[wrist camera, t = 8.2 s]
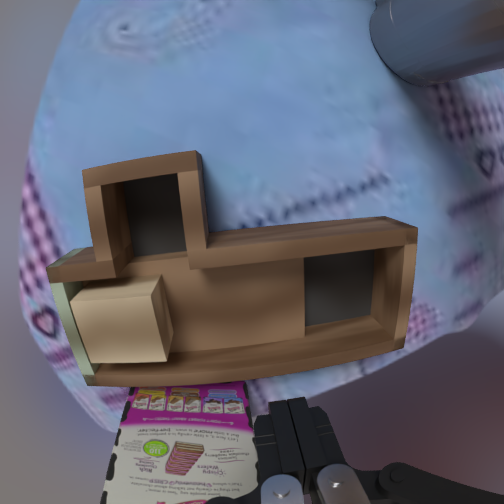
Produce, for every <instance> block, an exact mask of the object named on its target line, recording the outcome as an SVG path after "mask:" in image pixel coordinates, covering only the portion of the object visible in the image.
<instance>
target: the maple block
mask: <svg viewBox="0 0 504 504" xmlns="http://www.w3.org/2000/svg"><path fill="white" fill-rule="evenodd" d="M70 304H71V307H72V311H73V314H74V317H75V320H76V323H77V326H78V329H79V332H80V335H81V337H82V340H83V343H84V346H85V348H86V351H87V353H88V356H89V359H90V361H91V363H140V362H164V361H167V358H168V354H169V350H170V345H171V341H172V337H173V333H174V332H173V327H172V323H171V318H170V314H169V309H168V304H167V300H166V295H165V290H164V284H163V279H162V274H155V275H145V276H136V277H126V278H115V279H105V280H95V281H90V282H89V283H88V284H87V285H86V286H85V287H84V288H83V289H82V290H81V291H80V292H79V293H78V294H77V295H76V296H75V297H74V298H73V299H72V300H71V301H70Z"/></svg>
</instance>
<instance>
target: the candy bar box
mask: <svg viewBox="0 0 504 504" xmlns="http://www.w3.org/2000/svg"><path fill="white" fill-rule="evenodd" d="M259 482H260V471H259V464H258V457H257V450H256V442H255V436H254V431H253V425H252V418H251V412H250V406H249V401H248V392H247V386H246V382H245V381H232V382H222V383H211V384H198V385H182V386H157V387H130V391H129V395H128V397H127V401H126V404H125V407H124V411H123V414H122V418H121V422H120V425H119V428H118V433H117V437H116V441H115V444H114V447H113V451H112V455H111V459H110V463H109V467H108V471H107V475H106V480H105V484H104V489H103V494H102V497H101V502H100V504H204V503H205V502H206V501H208V500H209V499H211V498H214V497H219V496H226V497H230V498H233V499H235V498H237V497H240V496H243V495H246V494H248V493H250V492H251V491H253V490H254V489H255V488H256V487H257V486H258V484H259Z"/></svg>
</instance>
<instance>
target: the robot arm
mask: <svg viewBox="0 0 504 504" xmlns="http://www.w3.org/2000/svg"><path fill="white" fill-rule="evenodd" d="M376 5H377V8H376V10H375V11H374V13H373V14H372V16H371V20H370V33H371V38H372V41H373V43H374V46H375V48H376V50H377V51H378V53H379V55H380V56H381V58H382V59H383V60H384V62H385V63H386V64H387V65H388V66H389V67H390V68H391V69H392V70H393V71H394V72H395V73H396V74H397V75H399V76H400V77H401V78H403V79H404V80H406V81H408V82H410V83H412V84H415V85H418V86H431V85H435V84H441V83H444V82H448V81H450V80H454V79H458V78H462V77H466V76H470V75H474V74H478V73H483V72H487V71H492V70H497V69H502V68H504V0H376ZM268 407H269V414H268V415H260V416H257V418H256V421H255V423H254V434H255V442H256V450H257V457H258V464H259V471H260V482H259V484H258V486H257V487H256V488H255V489H254V490H253V491H251V492H250V493H248V494H246V495H243V496H240V497H237V498H235V499H233V498H230V497H226V496H219V497H214V498H211V499H209V500H208V501H206V502H205V503H204V504H304V499H303V495H304V494H309V493H310V496H311V500H312V504H504V495H500V494H496V493H492V492H488V491H484V490H481V489H477V488H474V487H470V486H467V485H463V484H460V483H457V482H454V481H451V480H448V479H445V478H442V477H439V476H437V475H433V474H431V473H428V472H426V471H423V470H420V469H418V468H415V467H413V466H410V465H408V464H405V463H400V462H396V463H391V464H389V465H387V466H385V467H384V468H383V469H382V470H379V471H361V470H357V469H354V468H352V467H351V466H349V465H348V464H347V463H346V461H345V459H344V457H343V454H342V451H341V449H340V446H339V444H338V441H337V439H336V436H335V434H334V431H333V428H332V426H331V424H330V421H329V418H328V416H327V414H326V413H325V412H324V411H323V410H322V409H321V408H320V407H319V406H317V407H312V408H309V407H308V405H307V401H306V399H305V397H299V398H293V399H287V401H286V400H281V401H274V402H268Z"/></svg>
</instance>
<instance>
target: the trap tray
mask: <svg viewBox="0 0 504 504" xmlns="http://www.w3.org/2000/svg"><path fill="white" fill-rule="evenodd" d="M82 175H83V184H84V192H85V200H86V207H87V213H88V220H89V226H90V232H91V237H92V242H93V247H87V248H79V249H74V250H72V251H71V252H69V253H67V254H66V255H64V256H63V257H61V258H60V259H58V260H57V261H55V262H54V263H52V264H51V265H49V266H48V267H46V271H47V275H48V279H49V282H50V286H51V290H52V293H53V296H54V300H55V303H56V306H57V309H58V312H59V316H60V318H61V321H62V324H63V327H64V330H65V333H66V336H67V338H68V341H69V343H70V346H71V349H72V351H73V354H74V356H75V359H76V361H77V363H78V366H79V368H80V370H81V373H82V375H83V377H84V379H85V382H86V384H87V386H109V387H157V386H182V385H198V384H211V383H222V382H232V381H241V380H250V379H258V378H265V377H272V376H279V375H285V374H291V373H297V372H303V371H308V370H314V369H319V368H324V367H329V366H334V365H338V364H343V363H347V362H352V361H356V360H360V359H364V358H368V357H372V356H376V355H380V354H384V353H387V352H391V351H395V350H398V349H402V348H404V343H405V338H406V332H407V327H408V321H409V314H410V308H411V301H412V293H413V285H414V275H415V265H416V253H417V237H418V228H417V227H415V226H412V225H409V224H406V223H403V222H400V221H398V220H395V219H392V218H389V217H386V216H382V217H368V218H356V219H343V220H332V221H320V222H309V223H298V224H287V225H277V226H266V227H256V228H246V229H237V230H227V231H218V232H209V228H208V219H207V210H206V201H205V191H204V181H203V171H202V160H201V154H200V153H198V152H197V151H196V150H194V151H186V152H179V153H171V154H165V155H158V156H152V157H145V158H140V159H134V160H128V161H123V162H118V163H112V164H107V165H103V166H98V167H93V168H89V169H84V170H82ZM155 274H162V279H163V284H164V290H165V295H166V300H167V304H168V309H169V314H170V318H171V323H172V327H173V332H174V333H173V337H172V341H171V345H170V350H169V354H168V358H167V361H164V362H140V363H91V361H90V359H89V356H88V353H87V351H86V348H85V346H84V343H83V340H82V337H81V335H80V332H79V329H78V326H77V323H76V320H75V317H74V314H73V311H72V307H71V304H70V301H71V300H72V299H73V298H74V297H75V296H76V295H77V294H78V293H79V292H80V291H81V290H82V289H83V288H84V287H85V286H86V285H87V284H88V283H89V282H90V281H95V280H105V279H115V278H126V277H136V276H145V275H155Z"/></svg>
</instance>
